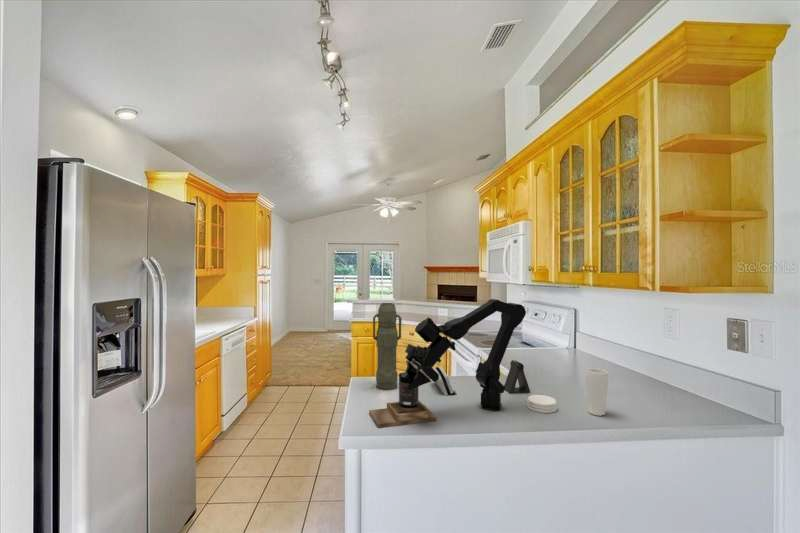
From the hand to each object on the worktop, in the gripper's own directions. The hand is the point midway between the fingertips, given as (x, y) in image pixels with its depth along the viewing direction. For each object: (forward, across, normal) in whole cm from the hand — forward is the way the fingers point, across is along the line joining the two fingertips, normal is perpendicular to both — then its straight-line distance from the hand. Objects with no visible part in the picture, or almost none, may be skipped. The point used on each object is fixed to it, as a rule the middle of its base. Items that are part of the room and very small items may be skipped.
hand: (404, 386), depth 131 cm
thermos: (+6, -32, +9) cm, 34 cm away
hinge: (-9, -24, +25) cm, 36 cm away
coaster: (-27, +6, +44) cm, 52 cm away
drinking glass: (-38, +16, +54) cm, 68 cm away
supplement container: (+4, 0, +6) cm, 7 cm away
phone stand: (-29, -13, +45) cm, 55 cm away
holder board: (+8, 0, +7) cm, 11 cm away
